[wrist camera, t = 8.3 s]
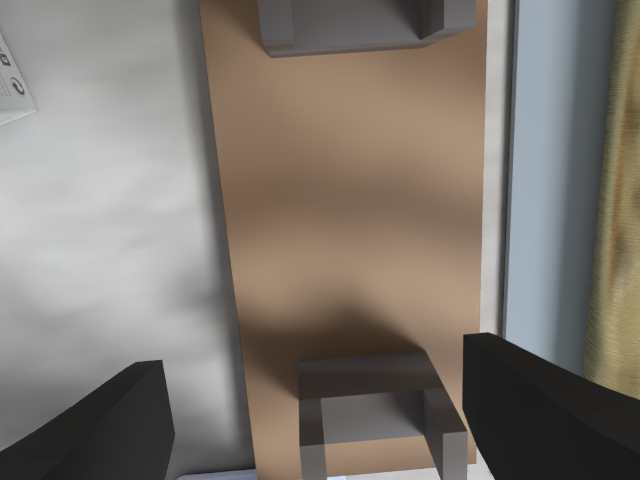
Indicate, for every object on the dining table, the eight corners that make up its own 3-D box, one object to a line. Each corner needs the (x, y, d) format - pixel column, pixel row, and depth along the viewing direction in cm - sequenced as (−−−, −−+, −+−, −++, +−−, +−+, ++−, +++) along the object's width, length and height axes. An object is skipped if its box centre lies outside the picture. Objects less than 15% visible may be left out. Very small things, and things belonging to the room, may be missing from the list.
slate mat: (674, 460, 25) (680, 466, 24) (496, 477, 24) (500, 483, 24) (782, -223, 17) (793, -230, 16) (523, -209, 17) (528, -217, 16)
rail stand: (467, 445, 24) (529, 569, 17) (259, 464, 23) (246, 597, 17) (478, -137, 17) (583, -274, 11) (189, -121, 17) (126, -252, 11)
